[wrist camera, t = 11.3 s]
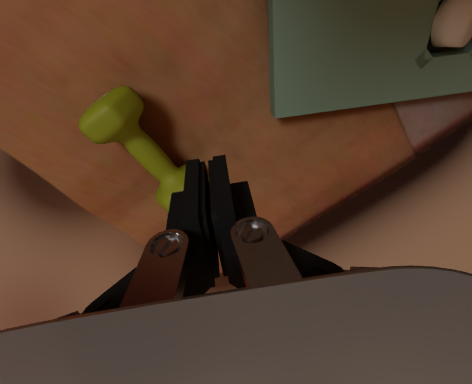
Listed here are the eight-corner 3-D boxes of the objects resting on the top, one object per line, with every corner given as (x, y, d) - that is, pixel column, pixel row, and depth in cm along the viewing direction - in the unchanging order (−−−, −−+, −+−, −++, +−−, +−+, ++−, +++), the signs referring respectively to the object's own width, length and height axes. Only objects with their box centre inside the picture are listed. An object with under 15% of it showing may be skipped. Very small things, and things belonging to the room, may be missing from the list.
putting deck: (266, -47, 27) (271, -51, 25) (537, -80, 28) (563, -86, 26) (270, 112, 36) (275, 118, 34) (475, 84, 37) (491, 88, 35)
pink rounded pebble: (440, -6, 29) (468, -9, 27) (461, -6, 31) (489, -9, 29) (425, 48, 31) (450, 49, 29) (447, 45, 33) (471, 45, 32)
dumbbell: (213, 171, 41) (215, 199, 35) (170, 197, 42) (165, 228, 36) (132, 71, 32) (116, 87, 26) (83, 109, 34) (58, 132, 28)
